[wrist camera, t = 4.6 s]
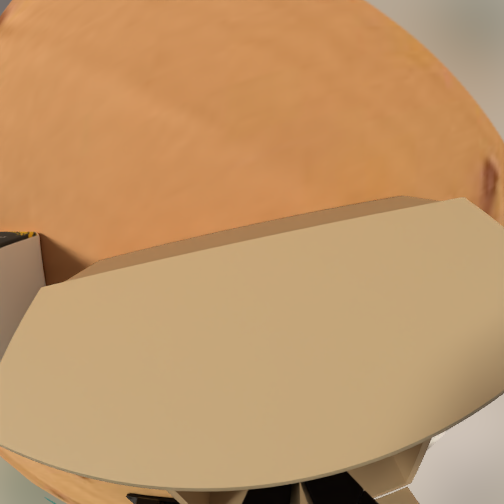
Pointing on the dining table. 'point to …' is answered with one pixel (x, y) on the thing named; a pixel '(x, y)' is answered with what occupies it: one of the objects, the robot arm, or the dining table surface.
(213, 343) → the flap near
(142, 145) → the dining table surface
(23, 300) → the medicine bottle
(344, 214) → the carton
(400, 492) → the flap far
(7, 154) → the dining table surface
